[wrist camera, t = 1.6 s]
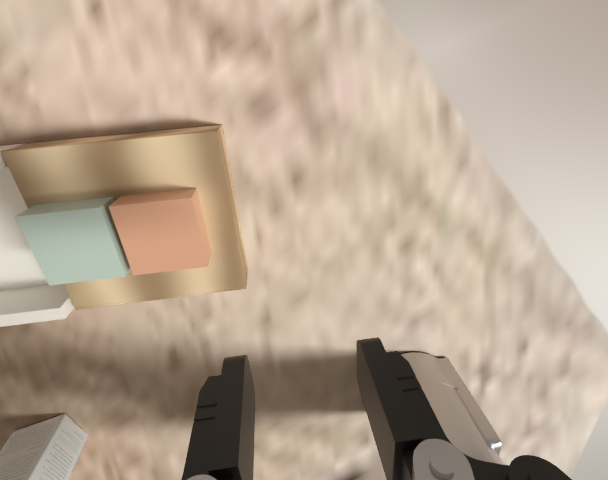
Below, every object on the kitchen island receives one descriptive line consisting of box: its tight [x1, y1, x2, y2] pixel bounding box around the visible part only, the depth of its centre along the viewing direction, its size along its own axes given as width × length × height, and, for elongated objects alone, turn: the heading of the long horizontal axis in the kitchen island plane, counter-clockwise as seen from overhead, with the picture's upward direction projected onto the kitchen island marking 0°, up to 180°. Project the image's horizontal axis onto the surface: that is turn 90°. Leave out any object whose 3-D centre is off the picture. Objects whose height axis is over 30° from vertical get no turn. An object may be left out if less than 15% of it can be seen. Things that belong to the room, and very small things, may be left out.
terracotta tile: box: [109, 188, 212, 276], centre depth 23 cm, size 5×5×2 cm
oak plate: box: [1, 125, 248, 310], centre depth 25 cm, size 13×12×3 cm
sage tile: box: [15, 197, 131, 286], centre depth 22 cm, size 5×5×2 cm
